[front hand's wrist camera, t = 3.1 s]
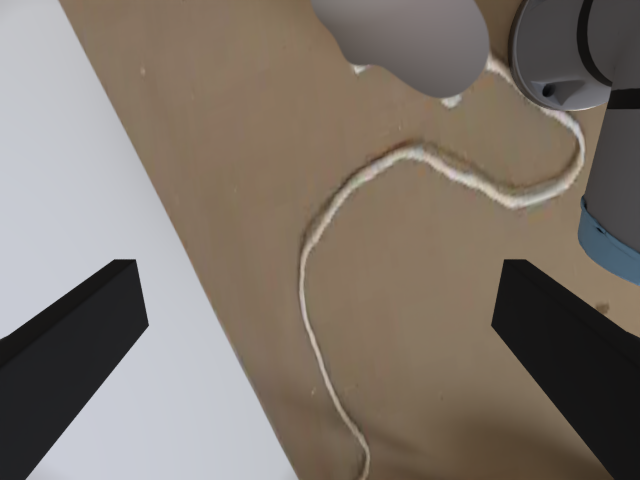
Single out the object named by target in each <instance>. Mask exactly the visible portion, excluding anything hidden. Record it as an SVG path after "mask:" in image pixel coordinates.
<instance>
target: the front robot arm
mask: <svg viewBox="0 0 640 480" xmlns="http://www.w3.org/2000/svg"><path fill="white" fill-rule="evenodd" d="M508 59H509V65H510V70H511V73H512V76H513V78H514V81H515V83H516V85H517V86H518V88H519V89H520V91H521V92H522V93H523V94H524V95H525V96H526V97H527V98H528V99H529V100H531V101H532V102H534V103H535V104H537V105H539V106H541V107H544V108H547V109H551V110H559V111H575V110H584V109H589V108H592V107H595V106H598V105H601V104H603V103H606V102H608V105H607V108H606V112H605V116H604V120H603V124H602V128H601V132H600V136H599V140H598V144H597V147H596V151H595V155H594V159H593V163H592V167H591V171H590V175H589V179H588V183H587V187H586V191H585V194H584V195H583V196H582V198H581V209H582V212H581V217H580V223H579V228H578V240H579V243H580V245H581V246H582V248H583V249H584V250H585V252H586V254H587V255H588V256H589V257H590V258H591V259H592V260H593V261H594V262H596V263H597V264H598V265H600V266H601V267H603V268H604V269H606V270H608V271H609V272H611V273H613V274H615V275H617V276H619V277H621V278H623V279H625V280H627V281H629V282H632V283H634V284H636V285H639V286H640V0H523V1H522V3H521V4H520V6H519V8H518V10H517V13H516V15H515V17H514V20H513V23H512V27H511V30H510V36H509V43H508ZM148 326H149V324H148V319H147V314H146V308H145V303H144V298H143V293H142V288H141V283H140V278H139V273H138V268H137V263H136V260H135V259H114V260H113V261H111V262H110V263H109V264H107V265H106V266H104V267H103V268H102V269H100V270H99V271H98V272H96V273H95V274H93V275H92V276H91V277H89V278H88V279H86V280H85V281H84V282H82V283H81V284H79V285H78V286H77V287H75V288H74V289H72V290H71V291H70V292H68V293H67V294H65V295H64V296H63V297H61V298H60V299H58V300H57V301H56V302H54V303H53V304H52V305H50V306H49V307H47V308H46V309H45V310H43V311H42V312H40V313H39V314H38V315H36V316H35V317H33V318H32V319H31V320H29V321H28V322H26V323H25V324H24V325H22V326H21V327H19V328H18V329H17V330H15V331H14V332H12V333H11V334H10V335H8V336H6V337H4V338H2V339H0V480H26V478H27V477H28V476H29V475H30V473H31V472H32V471H33V470H34V468H35V467H36V466H37V465H38V463H39V462H40V461H41V459H42V458H43V457H44V456H45V455H46V453H47V452H48V451H49V450H50V448H51V447H52V446H53V445H54V443H55V442H56V441H57V439H58V438H59V437H60V436H61V435H62V433H63V432H64V431H65V430H66V428H67V427H68V426H69V425H70V423H71V422H72V421H73V420H74V418H75V417H76V416H77V415H78V413H79V412H80V411H81V410H82V408H83V407H84V406H85V405H86V403H87V402H88V401H89V400H90V398H91V397H92V396H93V395H94V393H95V392H96V391H97V390H98V388H99V387H100V386H101V385H102V383H103V382H104V381H105V380H106V378H107V377H108V376H109V375H110V373H111V372H112V371H113V370H114V368H115V367H116V366H117V365H118V363H119V362H120V361H121V360H122V358H123V357H124V356H125V355H126V353H127V352H128V351H129V350H130V348H131V347H132V346H133V345H134V343H135V342H136V341H137V340H138V338H139V337H140V336H141V335H142V333H143V332H144V331H145V330H146V329H147V327H148ZM491 326H492V327H493V329H494V330H495V331H496V332H497V334H498V335H499V336H500V337H501V339H502V340H503V341H504V342H505V344H506V345H507V346H508V347H509V348H510V350H511V351H512V352H513V353H514V355H515V356H516V357H517V358H518V360H519V361H520V362H521V363H522V365H523V366H524V367H525V368H526V370H527V371H528V372H529V373H530V375H531V376H532V377H533V378H534V380H535V381H536V382H537V383H538V385H539V386H540V387H541V388H542V390H543V391H544V392H545V393H546V395H547V396H548V397H549V398H550V400H551V401H552V402H553V403H554V405H555V406H556V407H557V408H558V410H559V411H560V412H561V413H562V415H563V416H564V417H565V418H566V420H567V421H568V422H569V423H570V425H571V426H572V427H573V428H574V430H575V431H576V432H577V433H578V435H579V436H580V437H581V438H582V440H583V441H584V442H585V443H586V445H587V446H588V447H589V448H590V450H591V451H592V452H593V453H594V455H595V456H596V457H597V458H598V460H599V461H600V462H601V463H602V465H603V466H604V467H605V468H606V470H607V471H608V472H609V473H610V475H611V476H612V477H613V478H614V480H640V338H639V337H637V336H635V335H633V334H631V333H629V332H626V331H625V330H623V329H622V328H621V327H619V326H618V325H616V324H615V323H614V322H612V321H611V320H609V319H608V318H607V317H605V316H604V315H602V314H601V313H600V312H598V311H597V310H596V309H594V308H593V307H591V306H590V305H589V304H587V303H586V302H584V301H583V300H582V299H580V298H579V297H577V296H576V295H575V294H573V293H572V292H570V291H569V290H568V289H566V288H565V287H563V286H562V285H561V284H559V283H558V282H556V281H555V280H554V279H552V278H551V277H549V276H548V275H547V274H545V273H544V272H542V271H541V270H540V269H538V268H537V267H536V266H534V265H533V264H531V263H530V262H529V261H527V260H526V259H504V263H503V268H502V273H501V278H500V283H499V288H498V293H497V298H496V303H495V308H494V313H493V319H492V324H491Z"/></svg>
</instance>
